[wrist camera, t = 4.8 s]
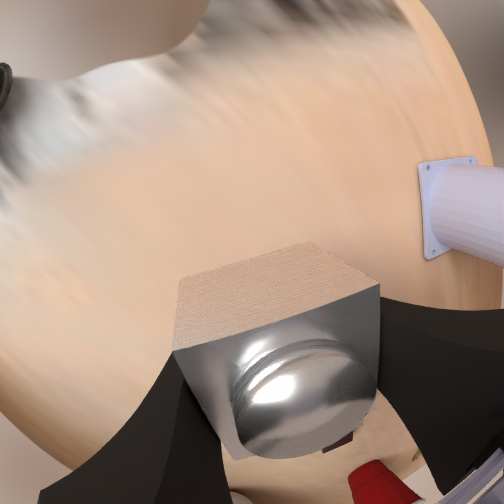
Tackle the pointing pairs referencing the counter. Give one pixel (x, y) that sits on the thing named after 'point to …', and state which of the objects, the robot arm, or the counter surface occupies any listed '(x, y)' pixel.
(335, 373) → the cube with round knob
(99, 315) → the counter surface
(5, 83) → the salt shaker
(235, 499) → the grey egg-shaped dome
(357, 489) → the plastic cup
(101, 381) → the counter surface
